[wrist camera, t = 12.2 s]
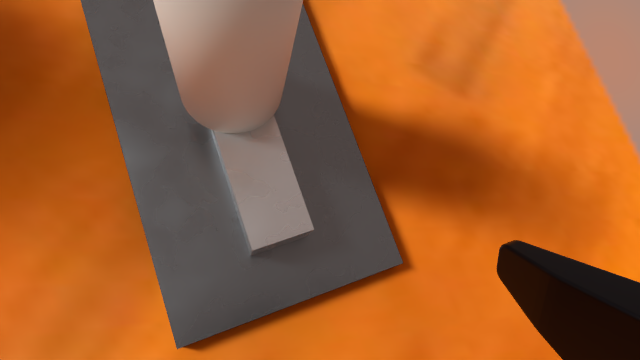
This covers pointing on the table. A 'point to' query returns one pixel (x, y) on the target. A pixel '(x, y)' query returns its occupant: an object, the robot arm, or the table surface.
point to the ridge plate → (202, 194)
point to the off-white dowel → (229, 57)
